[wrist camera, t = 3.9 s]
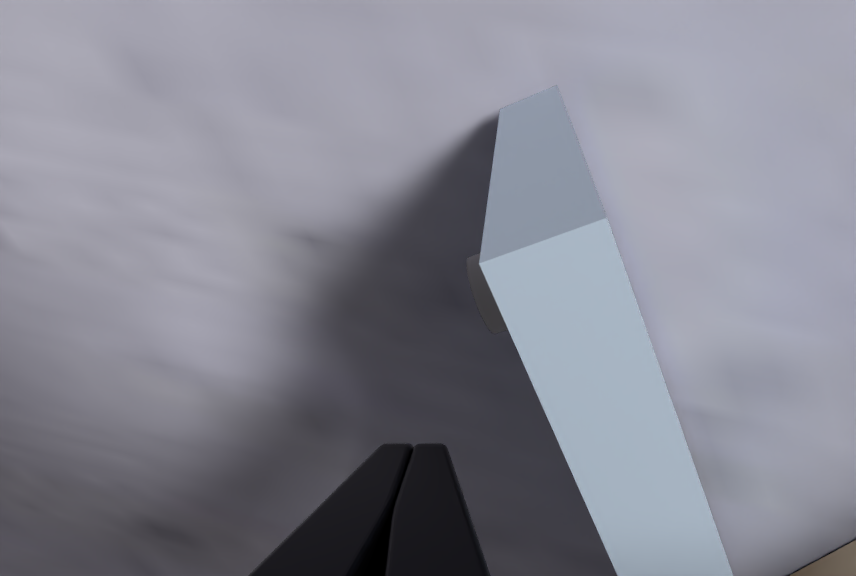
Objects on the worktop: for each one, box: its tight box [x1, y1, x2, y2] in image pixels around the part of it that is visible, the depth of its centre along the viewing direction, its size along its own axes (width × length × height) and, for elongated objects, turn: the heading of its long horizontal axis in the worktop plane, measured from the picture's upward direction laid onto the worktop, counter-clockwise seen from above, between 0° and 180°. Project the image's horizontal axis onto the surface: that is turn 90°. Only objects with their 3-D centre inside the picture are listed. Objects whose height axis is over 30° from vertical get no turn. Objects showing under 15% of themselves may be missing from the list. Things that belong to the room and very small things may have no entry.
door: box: [466, 85, 733, 576], centre depth 10 cm, size 13×2×7 cm, turn 24°
